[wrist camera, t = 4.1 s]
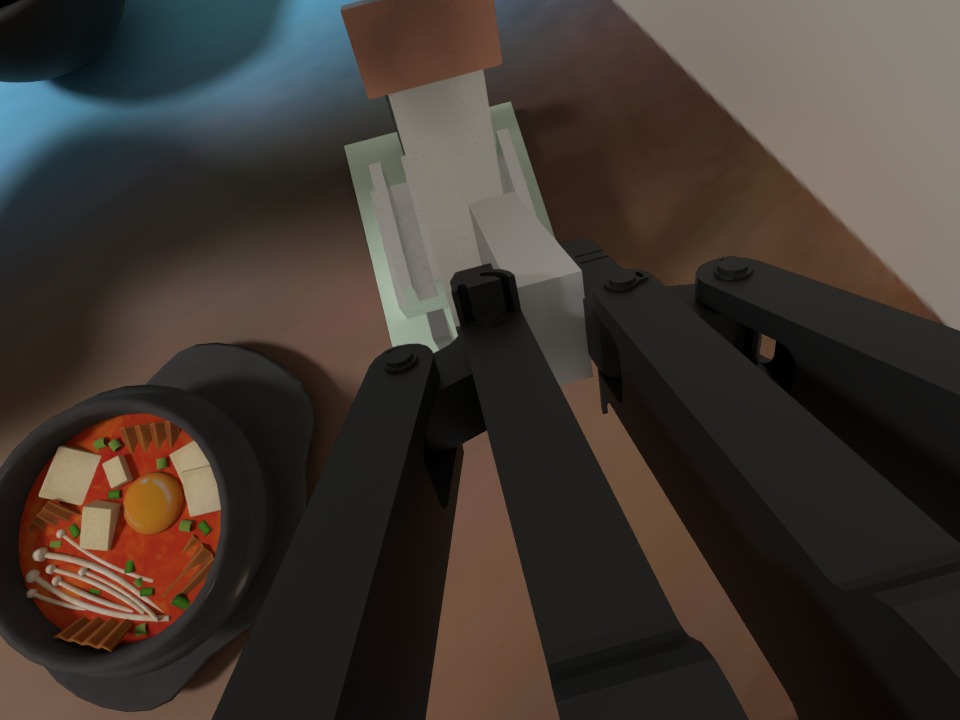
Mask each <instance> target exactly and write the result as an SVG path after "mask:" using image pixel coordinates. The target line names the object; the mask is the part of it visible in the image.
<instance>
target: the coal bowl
mask: <svg viewBox="0 0 960 720" xmlns="http://www.w3.org/2000/svg"><path fill="white" fill-rule="evenodd" d="M124 4H125V0H0V81H1V82H35V81H42V80H48V79H53V78H57V77H60V76H63V75H66V74H69V73H71V72H73V71H75V70H77V69H79V68H81V67H83V66H84V65H86V64H88V63H89V62H90V61H92V60H93V59H94V58H95V57H97V56H98V55H99V54H100V53H101V52H102V51H103V49H104V48H105V47H106V46H107V45H108V43H109V42H110V40H111V39H112V37H113V36H114V34H115V32H116V30H117V28H118V25H119V22H120V20H121V16H122V13H123V9H124Z"/></svg>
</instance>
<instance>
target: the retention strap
mask: <svg viewBox="0 0 960 720" xmlns="http://www.w3.org/2000/svg"><path fill="white" fill-rule="evenodd" d="M341 14H342V17H343V20H344V23H345V26H346V29H347V33H348V36H349V39H350V42H351V45H352V48H353V52H354V55H355V58H356V61H357V64H358V67H359V70H360V74H361V77H362V80H363V83H364V86H365V89H366V92H367V96H368V99H369V100H370V99H373V98H377V97H381V96H385V95H388V96H389V100H390V103H391V107H392V110H393V114H394V117H395V120H396V124H397V127H398V131H399V134H400V138H401V141H402V145H403V148H404V151H405V155H406V158H407V162H408V165H409V169H410V172H411V176H412V179H413V183H414V186H415V189H416V193H417V196H418V200H419V203H420V207H421V210H422V214H423V217H424V220H425V224H426V227H427V231H428V234H429V238H430V241H431V245H432V248H433V252H434V255H435V258H436V262H437V265H438V269H439V272H440V276H441V279H442V283H443V286H444V289H445V293H446V296H447V300H448V303H449V307H450V310H451V314H452V317H453V321H454V324H455V327H456V331H457V334H458V335H459V333H460V331H461V327H460V323H459V319H458V316H457V312H456V309H455V305H454V301H453V298H452V294H451V290H452V289H451V285H450V281H451V279H452V277H453V275H454V274H455V272H458V271H462V270H466V269H470V268H474V267H477V266H481V265H482V264H481V260H480V255H479V251H478V246H477V242H476V237H475V233H474V229H473V224H472V220H471V215H470V211H469V206H468V203H472V202H476V201H480V200H484V199H487V198H491V197H495V196H499V195H503V192H502V186H501V179H500V173H499V167H498V160H497V154H496V148H495V141H494V135H493V129H492V123H491V116H490V110H489V104H488V97H487V91H486V85H485V78H484V72H483V69H487V68H490V67H494V66H498V65H502V57H501V49H500V42H499V34H498V27H497V19H496V12H495V4H494V0H363V1H359V2H355V3H351V4H347V5H344V6H341Z"/></svg>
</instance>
